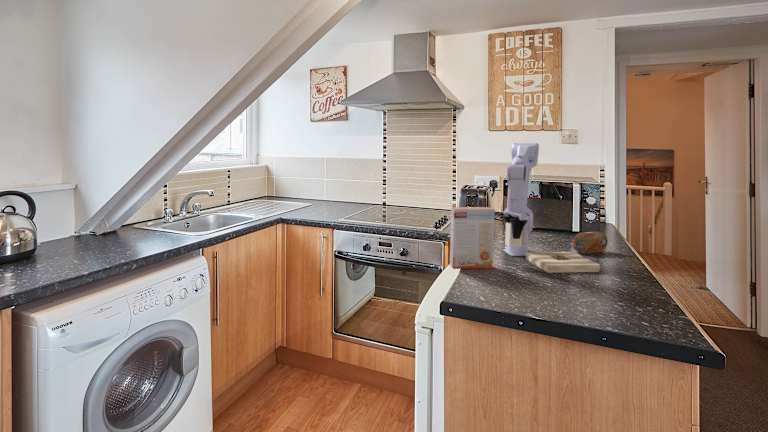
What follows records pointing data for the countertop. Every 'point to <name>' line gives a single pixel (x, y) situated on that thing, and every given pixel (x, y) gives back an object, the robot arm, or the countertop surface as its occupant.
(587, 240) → the tin
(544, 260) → the socket plate
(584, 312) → the countertop surface
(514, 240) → the keyed peg
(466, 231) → the cracker box
